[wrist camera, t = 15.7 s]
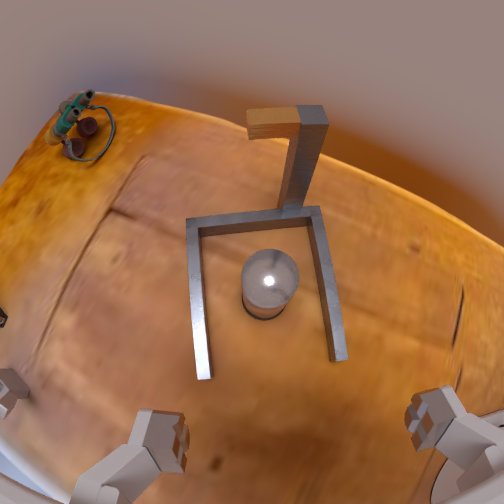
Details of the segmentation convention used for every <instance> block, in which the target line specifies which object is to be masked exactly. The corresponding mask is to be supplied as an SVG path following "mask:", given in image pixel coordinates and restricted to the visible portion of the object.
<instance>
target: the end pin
mask: <svg viewBox="0 0 504 504" xmlns="http://www.w3.org/2000/svg"><path fill="white" fill-rule="evenodd" d="M241 280H242V303H243V307H244V309H245V310H246V312H247V313H248V314H249V315H250V316H252V317H253V318H255V319H258V320H270V319H273V318H275V317H277V316H278V315H279V314H280V313H281V312H282V311H283V309H284V308H285V306H286V304H287V303H288V301H289V300H290V298H291V297H292V296H293V294H294V293H295V291H296V289H297V287H298V284H299V271H298V268H297V266H296V264H295V262H294V261H293V260H292V258H291V257H289V256H288V255H287V254H285V253H284V252H282V251H279V250H274V249H265V250H261V251H258V252H256V253H254V254H253V255H252V256H250V257H249V258H248V259H247V261H246V262H245V264H244V266H243V269H242V274H241Z"/></svg>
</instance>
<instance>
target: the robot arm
mask: <svg viewBox="0 0 504 504" xmlns="http://www.w3.org/2000/svg"><path fill="white" fill-rule="evenodd" d="M411 402H412V404H411V405H410V406H409V407H407V409H406V412H405V425H406V427H407V430H408V431H410V432H411V433H413V434H412V437H411V440H412V442H413V445H414V447H415V450H416V452H417V451H421V450H424V449H428V448H431V447H434V446H435V448H436V449H437V450H439V451H440V452H441V453H442V454H444V455H445V456H446V457H447V458H448V460H447V461H446V463H445V464H444V466H443V468H442V469H441V471H440V473H439V475H438V477H437V479H436V482H435V485H434V488H433V491H432V496H431V504H504V409H502V410H499V411H496V412H493V413H490V414H487V415H484V416H480V417H477V416H476V415H474V414H472V413H468V414H467V412H466V410H465V408H464V407H463V405H462V403H461V402H460V400H459V398H458V397H457V395H456V393H455V392H454V390H453V389H452V387H451V386H450V385H445V386H442V387H439V388H434V389H430V390H426V391H423V392H419V393H415V394H414V395H413V397H412V399H411ZM184 422H185V417H184V414H183V413H179V412H169V411H159V410H151V409H143V408H141V409H140V410H139V411H138V413H137V416H136V419H135V422H134V425H133V428H132V431H131V434H130V437H129V440H128V443H127V444H124V443H123V444H122V445H121V446H120V447H118V448H117V449H116V450H114V451H113V452H112V453H110V454H109V455H108V456H106V457H105V458H104V459H102V460H101V461H100V462H98V463H97V464H96V465H94V466H93V467H91V468H90V469H89V470H87V471H86V472H85V473H83V474H82V475H80V476H79V478H78V481H77V483H76V486H75V489H74V491H73V494H72V497H71V500H70V503H69V504H132V503H133V502H134V501H135V500H136V499H137V498H138V497H139V496H140V495H141V494H142V493H143V492H144V491H145V490H146V489H147V487H148V486H149V485H150V484H151V483H152V482H153V481H154V480H155V479H156V478H157V477H158V476H159V475H160V474H161V472H169V473H180V474H184V473H185V467H186V462H187V458H186V456H185V452H186V451H187V450H188V449H189V443H190V433H189V428H188V425H186V424H185V423H184ZM0 504H64V503H61V502H59V501H56V500H54V499H52V498H49V497H47V496H45V495H43V494H41V493H38V492H36V491H34V490H32V489H30V488H28V487H26V486H24V485H22V484H20V483H18V482H17V481H15V480H13V479H11V478H9V477H7V476H6V475H4V474H2V473H0Z"/></svg>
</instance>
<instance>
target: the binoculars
mask: <svg viewBox="0 0 504 504" xmlns="http://www.w3.org/2000/svg"><path fill="white" fill-rule="evenodd" d="M94 96H95V92H94V91H93V90H91V89H90V90H87V91H86V92H85V93H81V94H79V95H78V96H77V97H76V98H75V99H73V100H72V101H71V102H70V101H64V102H62V103H61V104H60V106H59V112H60V116H59V118H58V120H57V121H56V123H55V125H53V126H52V127H51V128H49V129H48V130H47V132H46V133H45V140H46V142H47V143H48V144H49V145H52V146H54V145H58V144H59V143H60V142H61V143H62V144H64V146H63V152H64V155H65V156H66V157H67V158H68V159H74V160H77V161H83V162H84V161H91V160H93V159H95V158H97V157H99V156H100V155H101V154H102V153H103V152H104V151H105V150H106V149H107V147H108V146H109V144H110V142H111V140H112V137H113V133H114V120H113V117H112V114H111V112H110V111H109V109H108V108H107V107H105V106H98V105H97V106H94V105H88V104H89V102H90V101H91V100H92V99H93V98H94ZM89 106H90V107H89ZM87 107H89V108H87ZM85 108H86V109H91V110H95V109H97V108H102V109H104V110H105V111H106V112H107V114H108V116H109V118H110V121H111V126H112V129H111V135H110V138H109V141H108V143H107V145H106V146H105V148H104V149H103V151H102V152H101V153H100V154H99V155H97V156H96V157H95V158H92V159H79V158H77V157H78V156H79V155H81V154H82V152H83V150H84V144H83V142H82V140H81V139H79V138H73V139H69V138H68V136H67V135H65V134H66V133H67V132H68V131H69V130H70V129H71V127H72V126H73V125H74V123H75V122H76V123H77V131H78V133H79V135H80V136H82V137H89V136H90V135H92V134H93V133H94V132H95V131H96V129H97V122H96V120H95V119H94V118H92V117H87V118H84V119H81V120H80V121H79V120H77V119H78V118H79V117H80V116H81V112H82V111H83V110H84V109H85ZM66 138H68V140H67V141H66V140H65V139H66ZM63 139H64V140H63Z"/></svg>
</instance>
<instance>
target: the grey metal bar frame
mask: <svg viewBox="0 0 504 504" xmlns="http://www.w3.org/2000/svg"><path fill="white" fill-rule="evenodd" d="M246 111H247V112H246V113H247V114H246V117H247V118H246V125H247V131H248V138H249V140H254V139H269V138H287V137H290V141H289V147H288V152H287V157H286V163H285V168H284V174H283V179H282V184H281V190H280V195H279V200H278V206H277V207H278V209H272V210H262V211H251V212H241V213H232V214H223V215H214V216H205V217H196V218H188V219H186V233H187V255H188V273H189V289H190V303H191V315H192V327H193V338H194V348H195V358H196V367H197V376H198V379H211V378H212V377H213V368H212V360H211V350H210V341H209V331H208V321H207V310H206V299H205V287H204V274H203V260H202V245H201V237H204V236H213V235H222V234H231V233H240V232H250V231H260V230H269V229H279V228H290V227H300V226H307V228H308V233H309V239H310V244H311V249H312V254H313V259H314V265H315V270H316V276H317V282H318V287H319V293H320V299H321V305H322V311H323V318H324V324H325V331H326V338H327V344H328V351H329V359H330V361H336V362H337V361H342V360H346V359H348V354H347V347H346V341H345V334H344V328H343V321H342V315H341V309H340V303H339V298H338V292H337V287H336V281H335V276H334V271H333V266H332V261H331V256H330V251H329V246H328V241H327V237H326V232H325V227H324V223H323V219H322V214H321V210H320V206H307V207H302V205H303V202H304V199H305V196H306V193H307V190H308V187H309V184H310V181H311V179H312V176H313V173H314V170H315V167H316V163H317V160H318V157H319V154H320V151H321V148H322V145H323V142H324V139H325V136H326V133H327V130H328V126H329V122H328V120H327V117H326V114H325V112H324V109H323V106H322V105H296V107H283V108H282V107H281V108H260V109H247V110H246Z"/></svg>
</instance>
